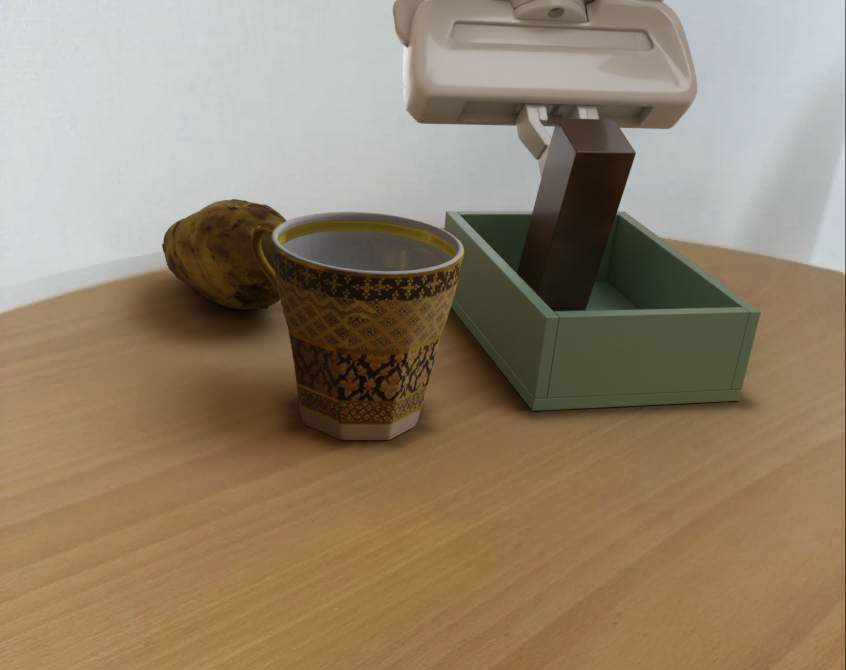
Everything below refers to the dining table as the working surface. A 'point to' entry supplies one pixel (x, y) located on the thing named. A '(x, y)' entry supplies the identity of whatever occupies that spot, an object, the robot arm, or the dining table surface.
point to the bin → (603, 321)
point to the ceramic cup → (362, 314)
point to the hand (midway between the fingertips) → (566, 177)
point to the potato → (223, 253)
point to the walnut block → (575, 210)
